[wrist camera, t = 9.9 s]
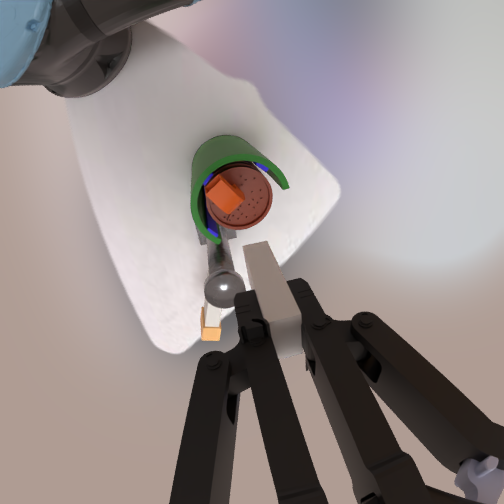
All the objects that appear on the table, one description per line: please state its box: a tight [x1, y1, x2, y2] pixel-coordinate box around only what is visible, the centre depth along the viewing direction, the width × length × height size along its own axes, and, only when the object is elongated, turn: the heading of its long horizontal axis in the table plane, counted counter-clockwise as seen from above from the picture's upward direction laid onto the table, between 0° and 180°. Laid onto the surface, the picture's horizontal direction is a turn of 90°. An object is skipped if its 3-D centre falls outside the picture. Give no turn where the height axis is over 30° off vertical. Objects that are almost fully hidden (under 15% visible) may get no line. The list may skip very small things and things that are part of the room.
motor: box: [191, 135, 289, 245], centre depth 32 cm, size 10×9×20 cm
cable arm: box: [200, 270, 222, 341], centre depth 39 cm, size 3×10×5 cm, turn 169°
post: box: [195, 224, 246, 308], centre depth 37 cm, size 6×6×18 cm
